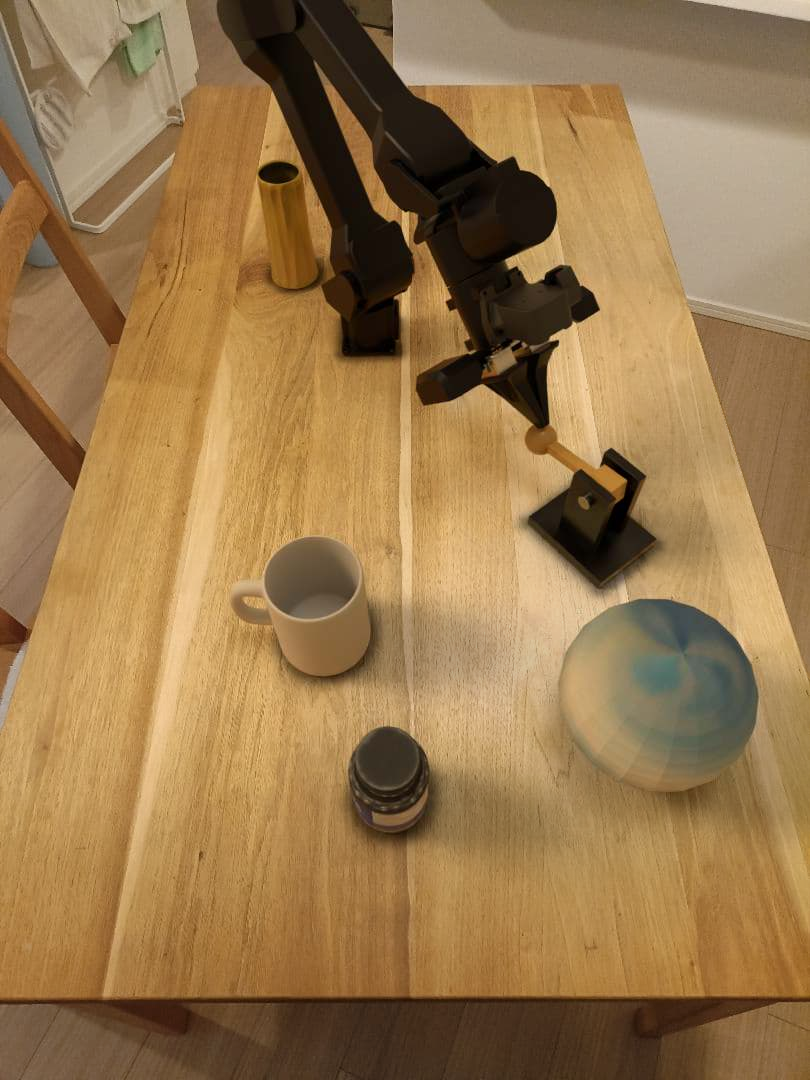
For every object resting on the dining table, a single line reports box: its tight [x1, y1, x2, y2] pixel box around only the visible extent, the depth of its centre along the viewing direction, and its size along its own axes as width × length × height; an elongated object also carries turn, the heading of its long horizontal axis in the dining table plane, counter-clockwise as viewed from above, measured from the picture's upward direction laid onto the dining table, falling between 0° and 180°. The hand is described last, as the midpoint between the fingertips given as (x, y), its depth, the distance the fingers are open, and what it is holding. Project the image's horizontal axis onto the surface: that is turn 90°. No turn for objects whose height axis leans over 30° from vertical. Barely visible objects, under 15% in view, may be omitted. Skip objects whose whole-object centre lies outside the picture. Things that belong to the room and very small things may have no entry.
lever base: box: [527, 447, 657, 589], centre depth 74 cm, size 10×8×10 cm
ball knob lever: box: [524, 424, 627, 503], centre depth 73 cm, size 12×3×3 cm, turn 39°
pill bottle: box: [347, 725, 430, 834], centre depth 59 cm, size 6×6×11 cm
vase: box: [255, 158, 319, 290], centre depth 94 cm, size 6×6×14 cm
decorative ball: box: [557, 598, 760, 793], centre depth 61 cm, size 15×15×15 cm
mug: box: [228, 534, 371, 677], centre depth 68 cm, size 12×8×11 cm
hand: (543, 426), depth 74 cm, fingers closed, pressing on ball knob lever
